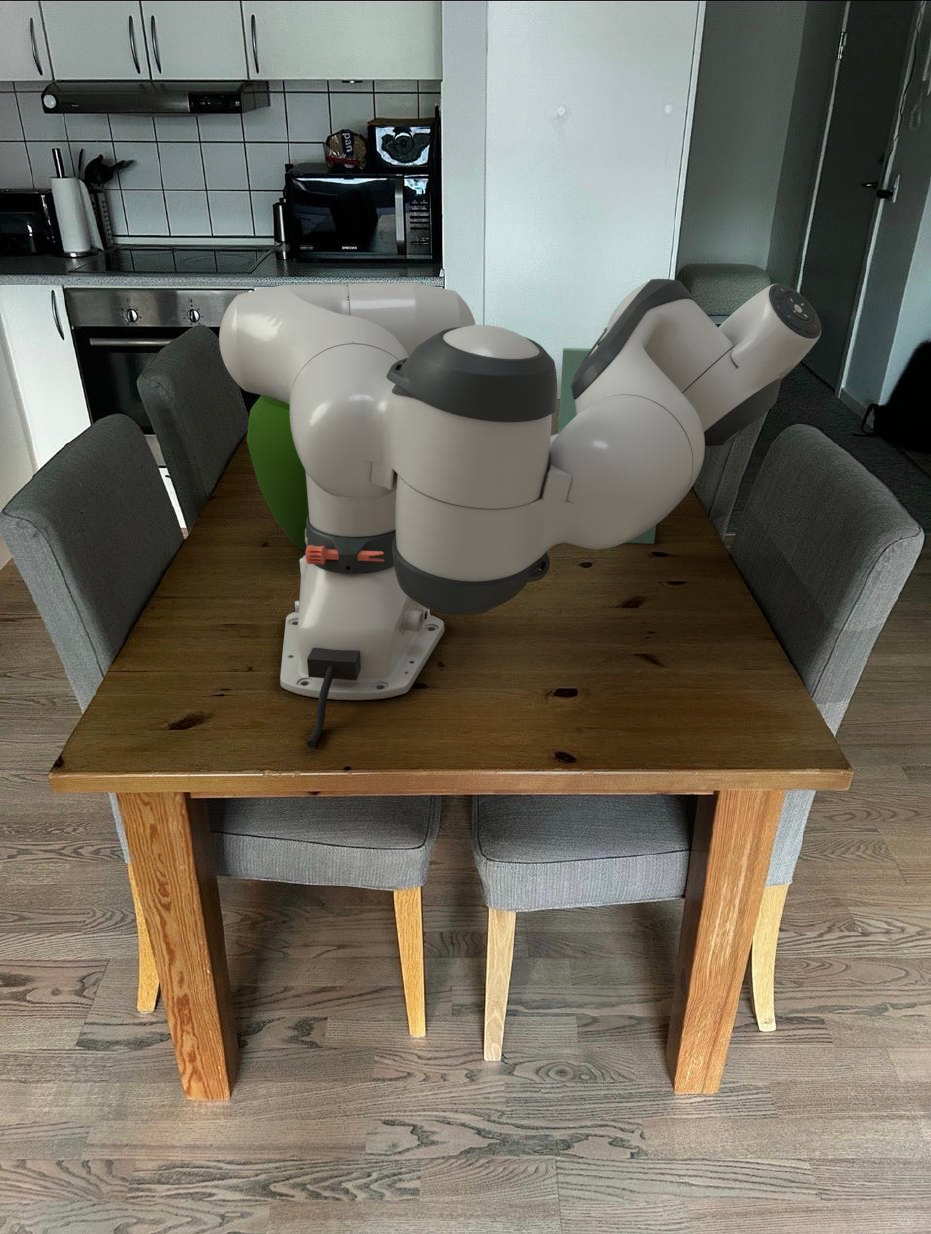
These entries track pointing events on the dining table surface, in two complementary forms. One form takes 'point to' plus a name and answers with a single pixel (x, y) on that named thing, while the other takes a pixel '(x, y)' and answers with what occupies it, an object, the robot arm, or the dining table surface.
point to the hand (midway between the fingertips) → (647, 448)
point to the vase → (279, 466)
